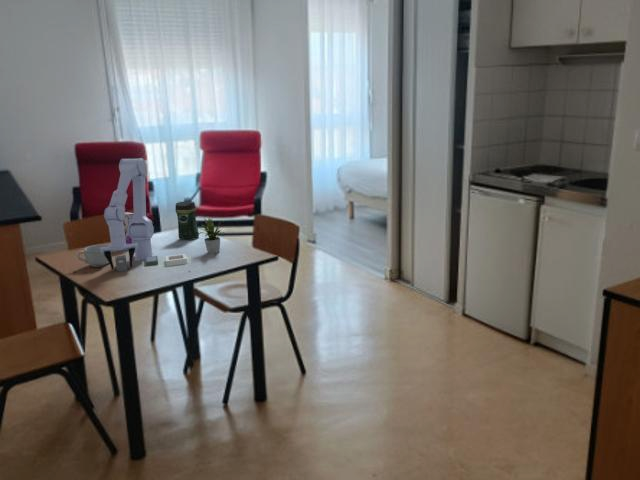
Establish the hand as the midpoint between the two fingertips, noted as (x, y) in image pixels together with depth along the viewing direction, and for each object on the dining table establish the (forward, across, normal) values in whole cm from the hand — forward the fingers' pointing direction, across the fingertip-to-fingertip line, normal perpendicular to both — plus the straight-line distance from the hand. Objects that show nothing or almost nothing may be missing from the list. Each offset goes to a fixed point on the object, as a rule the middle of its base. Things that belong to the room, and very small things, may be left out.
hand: (121, 267), depth 246 cm
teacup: (+2, -11, +14) cm, 18 cm away
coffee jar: (+2, +31, +46) cm, 55 cm away
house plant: (+2, +38, +13) cm, 40 cm away
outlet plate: (+1, +18, +2) cm, 18 cm away
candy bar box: (+2, +2, +44) cm, 44 cm away
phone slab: (+1, +12, +5) cm, 13 cm away
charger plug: (+2, 0, 0) cm, 2 cm away
